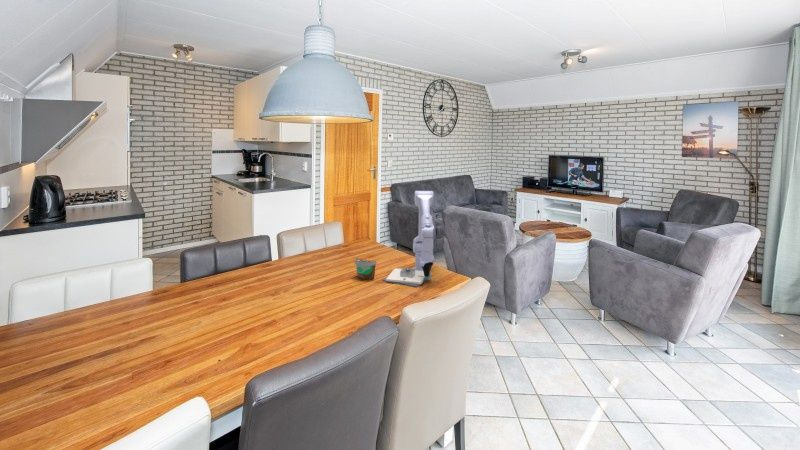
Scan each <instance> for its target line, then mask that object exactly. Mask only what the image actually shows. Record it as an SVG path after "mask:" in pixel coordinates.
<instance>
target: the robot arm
mask: <svg viewBox="0 0 800 450" xmlns="http://www.w3.org/2000/svg"><path fill="white" fill-rule="evenodd" d="M434 195H435V194H434V191H433V190H415V191H414V205H415V206H417V208H418V235H417V236H416V237H414V238H413V239H412V240H413V242H412V252H413V253H414V254H415V257H414V264H415V265H414V267H412V268H411V269H415V270H418V271H423V272H424V276H426V277H428V276H429V273H430V272H431V269H432V267H433V265H434V259H435V255H434V239H435V236H436V229H435V225H434V222H433V216H432V215H431V214H430V212H431V211H430V210H431V209H430V208H431V207H430V206H432V205H433V202H434V197H435V196H434Z"/></svg>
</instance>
